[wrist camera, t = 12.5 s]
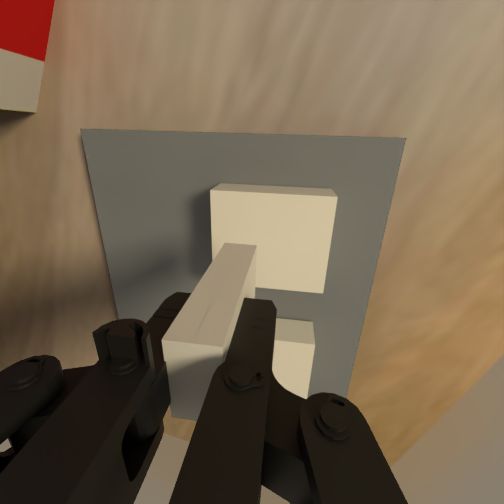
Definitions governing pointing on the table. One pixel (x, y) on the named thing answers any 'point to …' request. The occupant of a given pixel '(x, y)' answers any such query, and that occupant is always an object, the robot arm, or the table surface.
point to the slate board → (199, 221)
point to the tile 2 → (293, 355)
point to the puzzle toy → (23, 51)
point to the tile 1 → (277, 231)
